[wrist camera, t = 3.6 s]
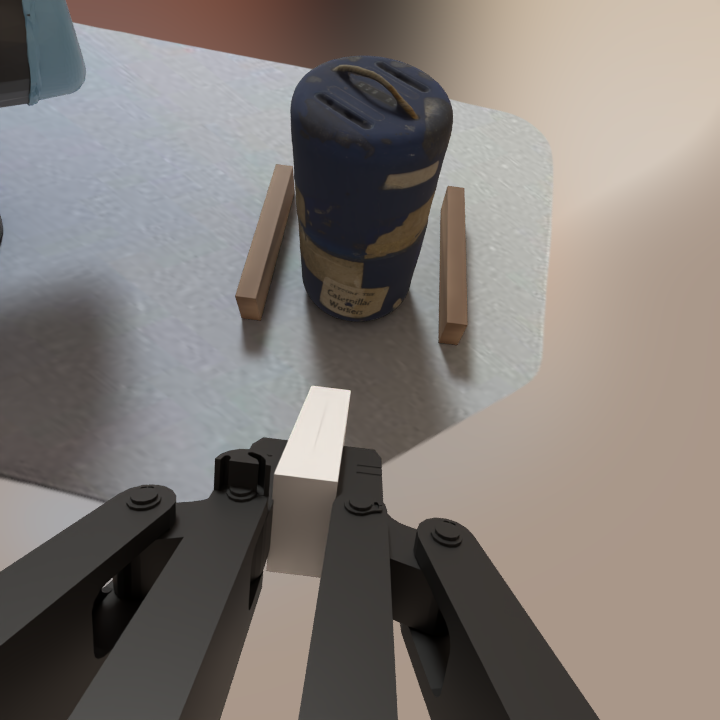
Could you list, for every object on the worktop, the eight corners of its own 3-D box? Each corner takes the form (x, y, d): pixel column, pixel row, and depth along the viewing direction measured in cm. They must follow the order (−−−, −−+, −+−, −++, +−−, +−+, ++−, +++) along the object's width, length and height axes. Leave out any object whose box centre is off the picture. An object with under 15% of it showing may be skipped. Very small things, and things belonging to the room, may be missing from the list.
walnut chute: (241, 318, 36) (235, 295, 34) (278, 190, 44) (276, 164, 42) (457, 344, 37) (467, 324, 34) (456, 212, 45) (464, 188, 42)
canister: (370, 232, 42) (396, 14, 27) (430, 300, 39) (500, 93, 23) (282, 270, 39) (254, 49, 24) (338, 348, 36) (348, 146, 20)
